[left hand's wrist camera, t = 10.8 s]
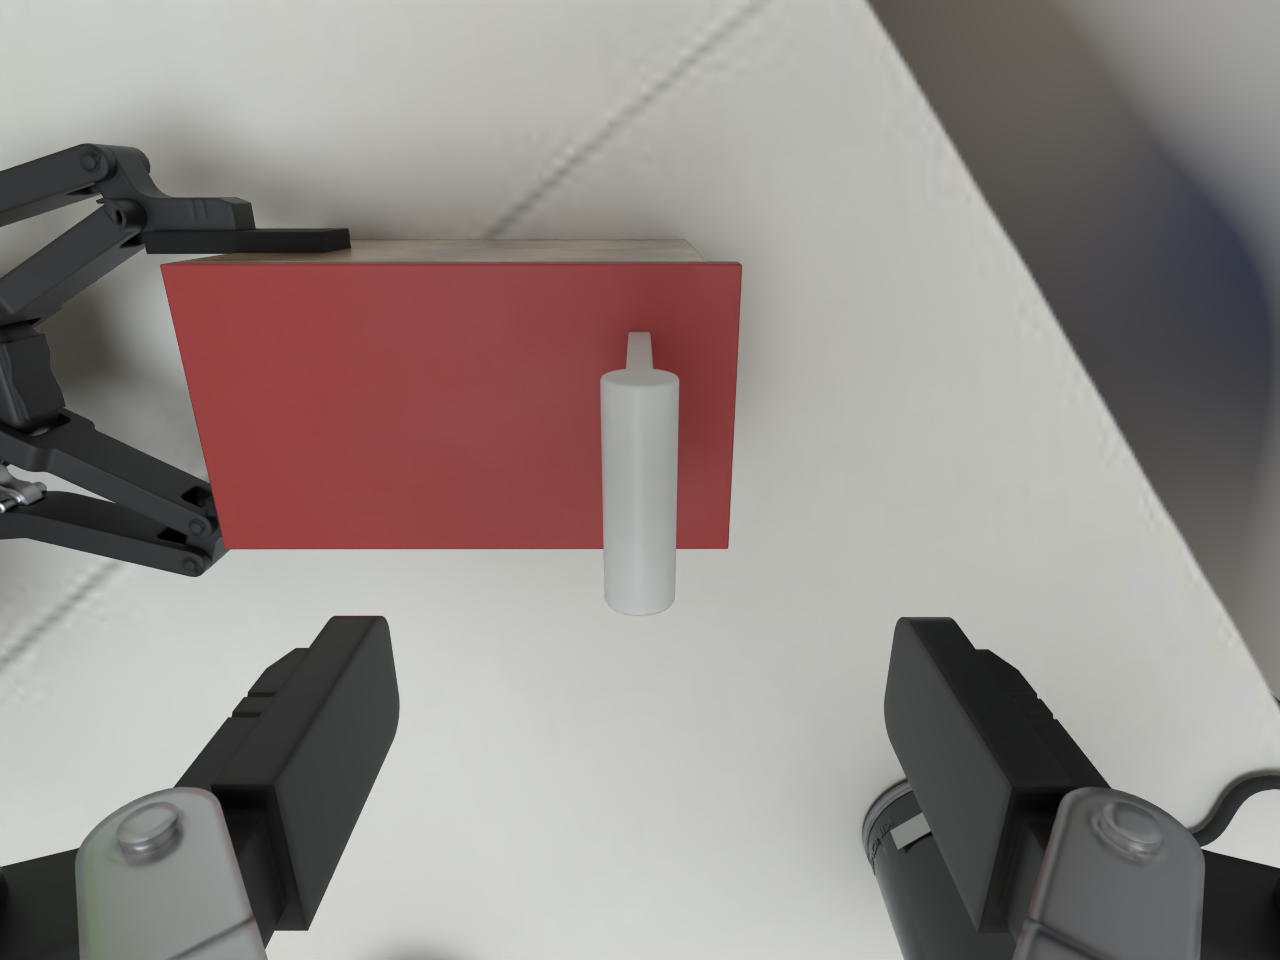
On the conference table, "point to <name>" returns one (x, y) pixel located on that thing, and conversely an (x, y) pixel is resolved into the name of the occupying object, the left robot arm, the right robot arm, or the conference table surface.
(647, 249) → the chest
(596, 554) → the conference table surface
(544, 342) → the lid
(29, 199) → the right robot arm
